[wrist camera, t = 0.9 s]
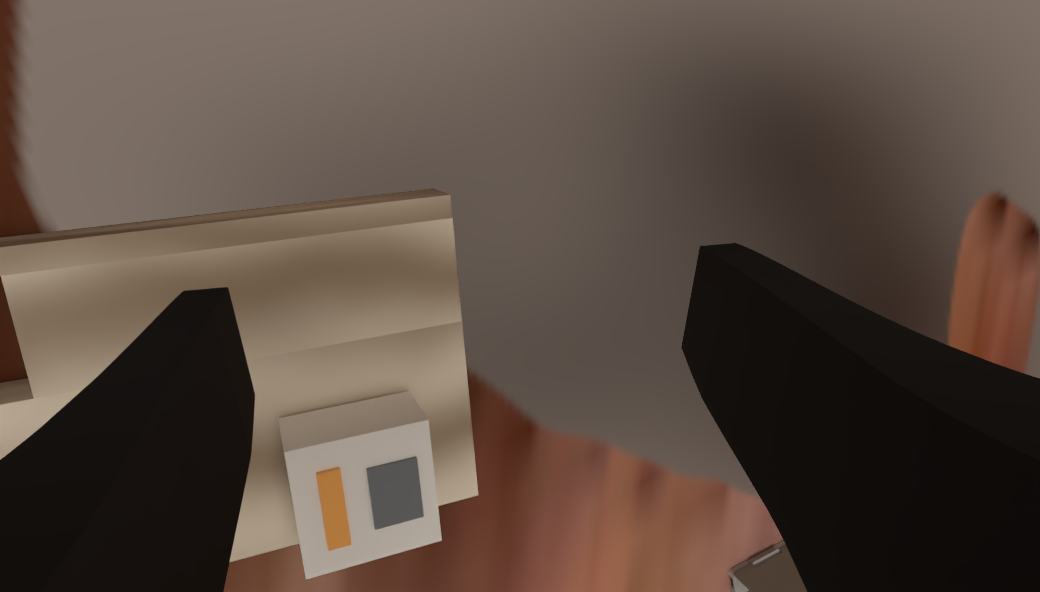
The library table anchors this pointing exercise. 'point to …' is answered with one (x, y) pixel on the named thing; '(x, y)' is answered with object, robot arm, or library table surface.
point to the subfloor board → (260, 323)
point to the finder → (360, 481)
